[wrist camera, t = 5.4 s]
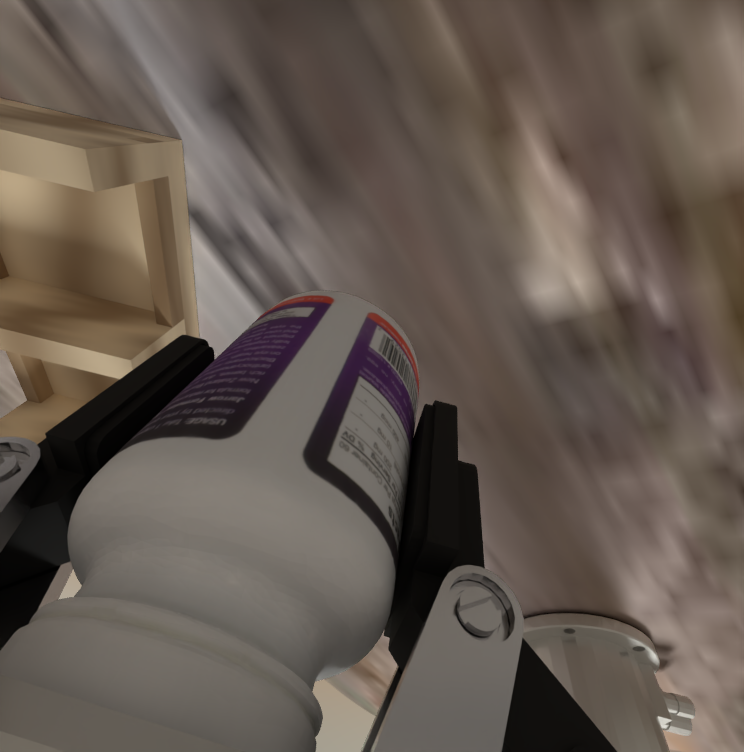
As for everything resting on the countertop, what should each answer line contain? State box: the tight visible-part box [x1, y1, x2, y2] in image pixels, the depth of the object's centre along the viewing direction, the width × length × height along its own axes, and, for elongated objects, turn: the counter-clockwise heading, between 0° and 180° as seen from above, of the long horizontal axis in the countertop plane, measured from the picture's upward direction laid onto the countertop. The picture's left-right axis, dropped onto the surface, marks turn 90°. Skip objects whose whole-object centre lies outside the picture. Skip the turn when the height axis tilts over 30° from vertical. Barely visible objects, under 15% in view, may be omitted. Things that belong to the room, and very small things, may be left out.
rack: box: [0, 98, 199, 444], centre depth 18 cm, size 10×17×5 cm, turn 170°
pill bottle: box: [0, 290, 419, 752], centre depth 8 cm, size 5×5×10 cm
